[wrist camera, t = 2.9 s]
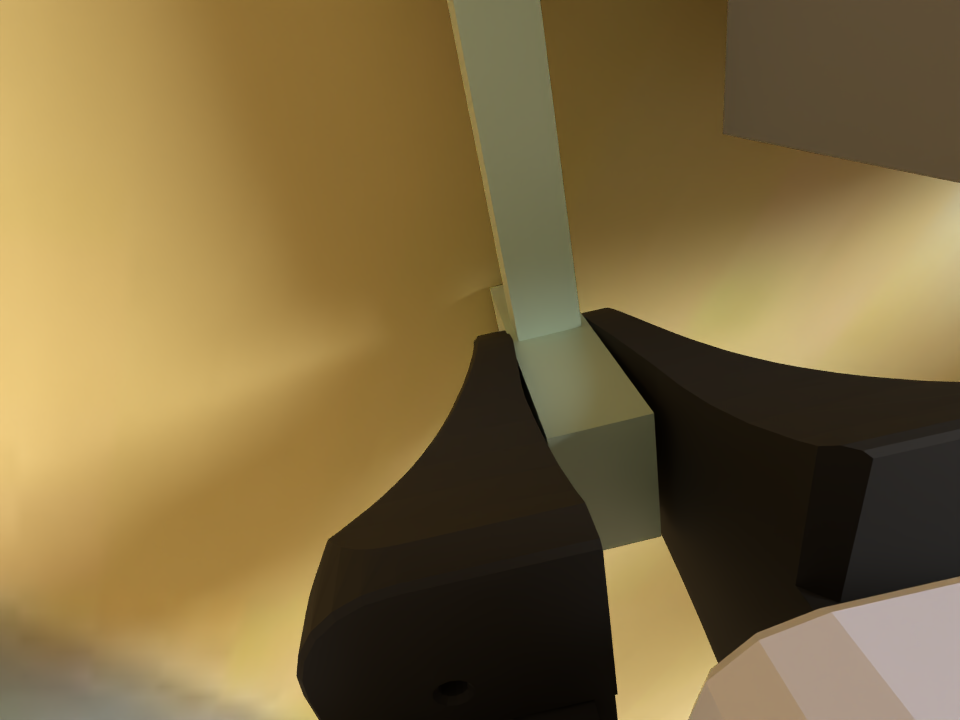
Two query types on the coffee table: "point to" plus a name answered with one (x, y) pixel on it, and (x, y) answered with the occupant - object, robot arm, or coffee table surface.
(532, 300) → the pale green mallet
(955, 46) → the cabinet
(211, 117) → the coffee table surface
